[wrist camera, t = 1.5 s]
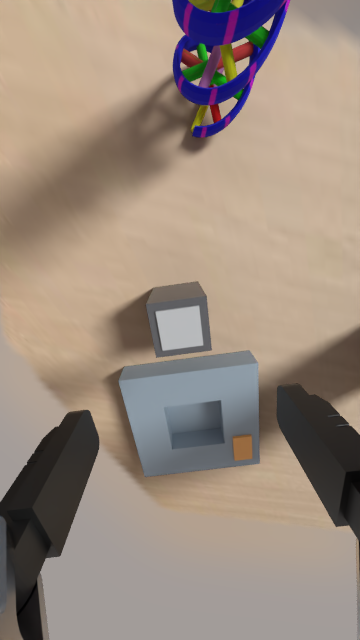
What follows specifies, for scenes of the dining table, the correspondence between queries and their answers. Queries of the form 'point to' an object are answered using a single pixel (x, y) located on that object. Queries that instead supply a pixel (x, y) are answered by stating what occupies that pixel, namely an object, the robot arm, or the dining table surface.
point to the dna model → (222, 52)
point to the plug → (179, 319)
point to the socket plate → (194, 412)
